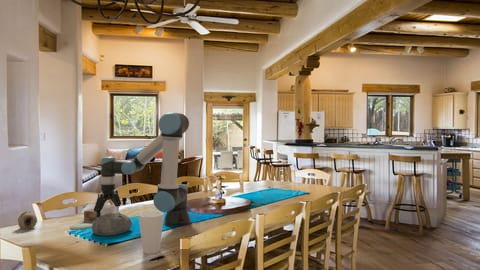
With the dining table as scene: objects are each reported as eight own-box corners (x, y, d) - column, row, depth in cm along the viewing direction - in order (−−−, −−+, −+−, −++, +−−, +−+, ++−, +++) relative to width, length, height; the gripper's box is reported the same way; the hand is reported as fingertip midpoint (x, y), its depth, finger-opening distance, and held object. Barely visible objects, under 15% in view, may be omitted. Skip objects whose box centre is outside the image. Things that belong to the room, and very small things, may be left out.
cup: (148, 246, 166) (148, 210, 166) (167, 248, 163) (167, 211, 163) (134, 254, 155) (134, 216, 155) (155, 256, 153) (154, 217, 152)
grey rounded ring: (18, 233, 196) (12, 216, 195) (32, 226, 203) (26, 211, 203) (29, 230, 192) (22, 213, 191) (42, 223, 200) (36, 207, 199)
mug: (107, 228, 196) (107, 209, 196) (96, 224, 203) (95, 206, 203) (121, 225, 202) (120, 206, 202) (109, 221, 210) (109, 204, 210)
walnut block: (98, 218, 217) (98, 209, 217) (93, 221, 211) (93, 211, 211) (90, 218, 218) (89, 208, 218) (84, 220, 212) (84, 211, 212)
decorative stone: (92, 229, 194) (91, 211, 194) (131, 225, 202) (131, 208, 201) (91, 238, 178) (91, 219, 177) (133, 234, 185) (133, 215, 185)
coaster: (97, 225, 203) (97, 224, 203) (81, 230, 192) (81, 230, 192) (81, 223, 207) (81, 222, 207) (64, 228, 196) (64, 228, 196)
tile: (105, 218, 218) (105, 218, 218) (91, 223, 208) (91, 222, 208) (91, 217, 222) (91, 217, 222) (77, 221, 211) (77, 221, 211)
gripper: (117, 180, 215) (117, 214, 216) (86, 186, 192) (86, 224, 192) (127, 180, 213) (127, 215, 213) (97, 187, 189) (97, 226, 190)
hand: (108, 220), depth 203 cm, fingers open, 13 cm apart
